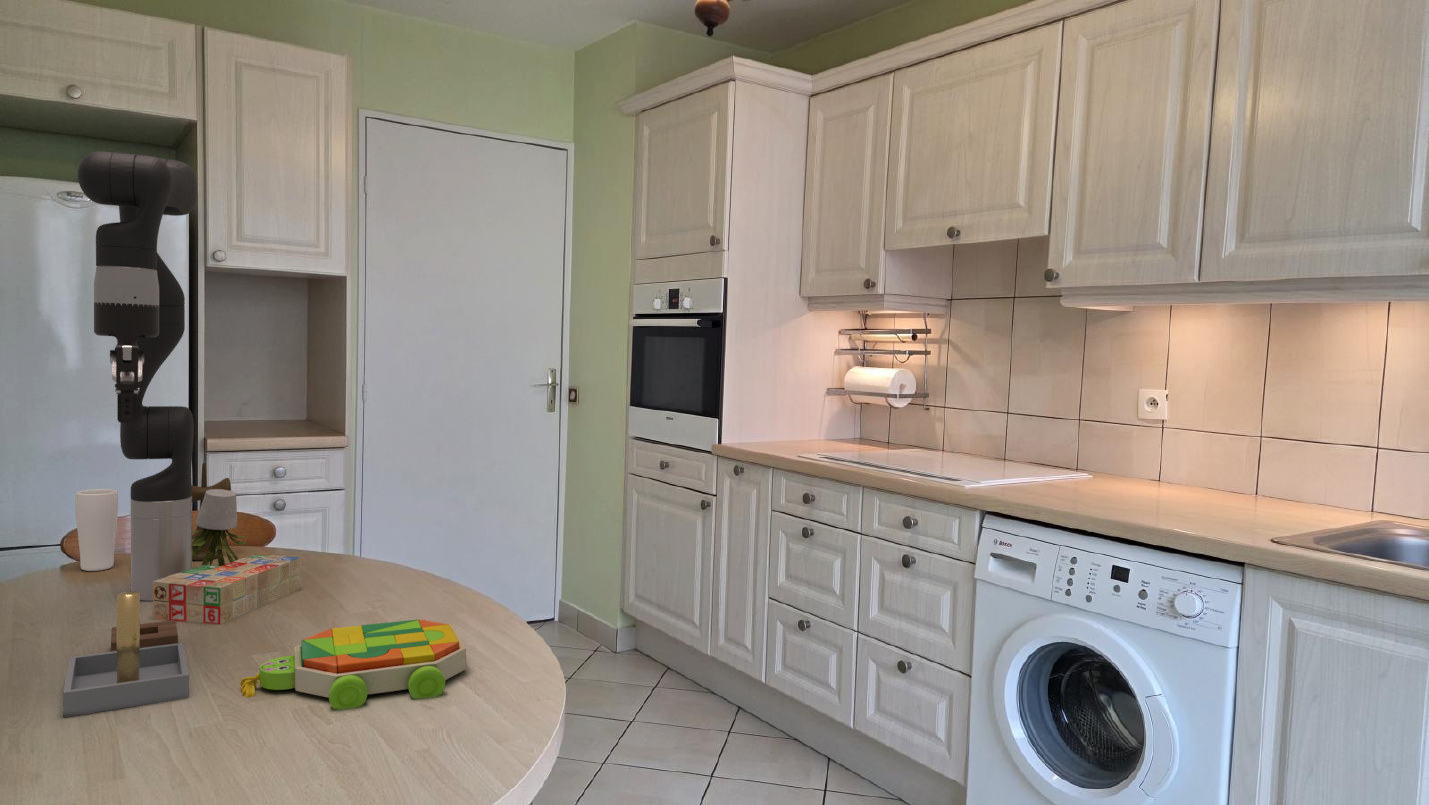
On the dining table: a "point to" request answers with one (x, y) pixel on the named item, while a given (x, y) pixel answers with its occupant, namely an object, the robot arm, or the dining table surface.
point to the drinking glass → (96, 527)
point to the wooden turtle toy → (367, 662)
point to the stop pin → (128, 636)
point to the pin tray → (99, 691)
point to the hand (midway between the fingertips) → (127, 419)
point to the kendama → (198, 495)
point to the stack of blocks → (225, 589)
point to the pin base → (152, 634)
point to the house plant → (216, 525)
